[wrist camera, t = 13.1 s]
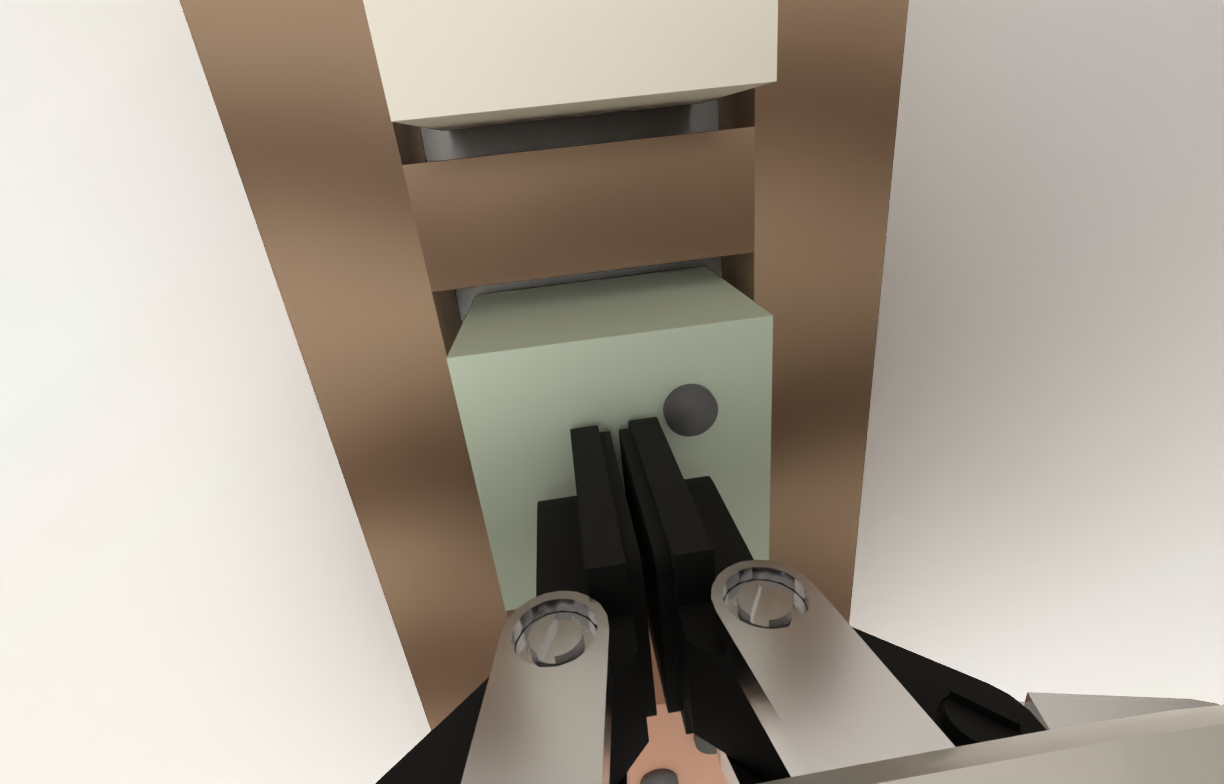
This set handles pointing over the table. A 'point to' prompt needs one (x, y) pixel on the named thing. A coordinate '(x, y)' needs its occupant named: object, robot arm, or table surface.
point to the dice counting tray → (555, 275)
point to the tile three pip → (674, 749)
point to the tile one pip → (564, 56)
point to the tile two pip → (612, 396)
